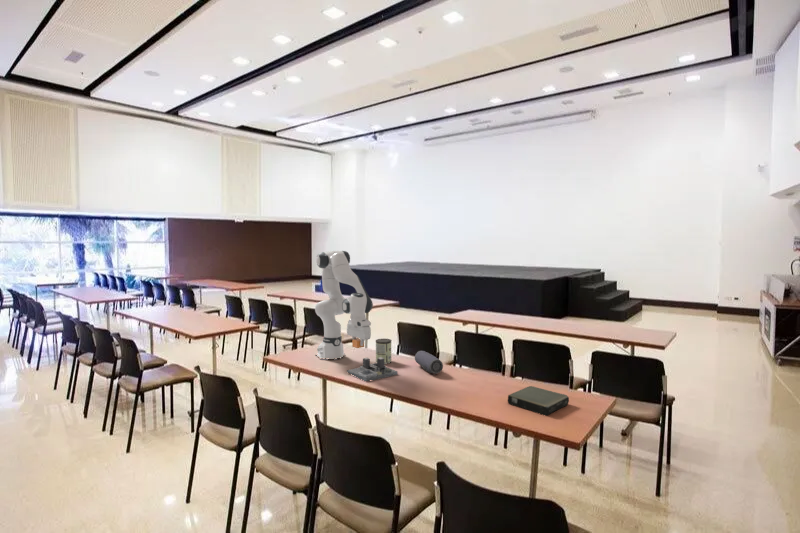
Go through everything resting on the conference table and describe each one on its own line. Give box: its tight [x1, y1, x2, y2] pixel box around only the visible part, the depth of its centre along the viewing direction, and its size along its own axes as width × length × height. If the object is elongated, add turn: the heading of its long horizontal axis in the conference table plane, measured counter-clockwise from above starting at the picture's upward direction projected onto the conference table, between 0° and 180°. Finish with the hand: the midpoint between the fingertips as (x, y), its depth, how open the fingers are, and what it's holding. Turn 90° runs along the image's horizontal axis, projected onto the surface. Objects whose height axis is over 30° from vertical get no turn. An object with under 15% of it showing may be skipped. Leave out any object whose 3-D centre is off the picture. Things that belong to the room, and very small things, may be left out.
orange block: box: [351, 338, 365, 349], centre depth 261 cm, size 5×5×4 cm
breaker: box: [377, 357, 385, 369], centre depth 269 cm, size 3×3×6 cm
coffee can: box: [375, 338, 392, 365], centre depth 290 cm, size 10×10×14 cm
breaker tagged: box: [362, 357, 371, 369], centre depth 268 cm, size 3×3×6 cm
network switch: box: [507, 385, 570, 417], centre depth 217 cm, size 23×23×5 cm
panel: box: [346, 362, 398, 382], centre depth 264 cm, size 20×22×3 cm
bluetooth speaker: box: [414, 350, 444, 375], centre depth 271 cm, size 23×9×10 cm, turn 22°
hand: (358, 344), depth 261 cm, fingers closed on orange block, 5 cm apart
